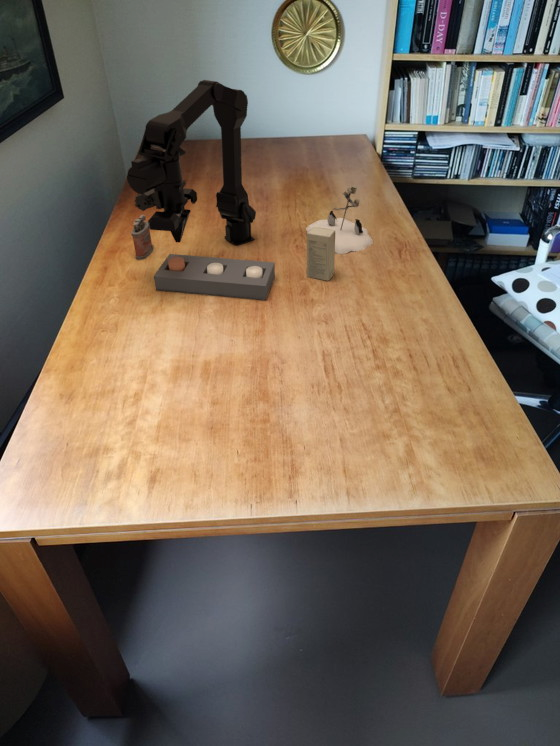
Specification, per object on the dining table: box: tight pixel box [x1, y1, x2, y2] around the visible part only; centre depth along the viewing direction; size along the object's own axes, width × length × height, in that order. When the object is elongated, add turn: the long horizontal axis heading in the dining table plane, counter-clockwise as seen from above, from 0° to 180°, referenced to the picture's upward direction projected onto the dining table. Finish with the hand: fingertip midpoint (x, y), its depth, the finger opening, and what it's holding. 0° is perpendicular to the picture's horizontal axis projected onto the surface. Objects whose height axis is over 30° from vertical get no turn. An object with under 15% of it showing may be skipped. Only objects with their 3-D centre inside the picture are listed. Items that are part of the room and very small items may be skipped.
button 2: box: [246, 266, 263, 278], centre depth 137 cm, size 4×4×4 cm
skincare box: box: [306, 227, 336, 282], centre depth 139 cm, size 6×4×12 cm
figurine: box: [305, 184, 374, 255], centre depth 154 cm, size 20×18×16 cm
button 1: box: [207, 263, 224, 275], centre depth 138 cm, size 4×4×4 cm
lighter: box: [130, 214, 154, 261], centre depth 150 cm, size 8×3×10 cm, turn 168°
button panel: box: [153, 253, 276, 301], centre depth 138 cm, size 28×12×4 cm, turn 80°
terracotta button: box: [168, 257, 185, 271], centre depth 139 cm, size 4×4×4 cm
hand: (178, 241), depth 136 cm, fingers closed
